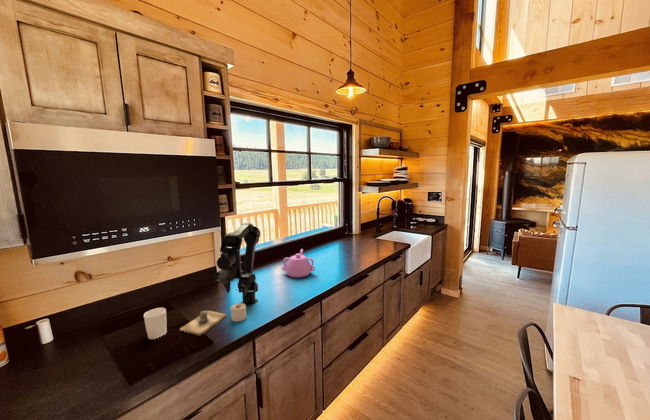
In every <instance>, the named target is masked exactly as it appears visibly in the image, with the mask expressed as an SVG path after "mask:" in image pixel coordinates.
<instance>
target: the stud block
mask: <svg viewBox="0 0 650 420" xmlns="http://www.w3.org/2000/svg"><path fill="white" fill-rule="evenodd" d="M226 317H227V314H226V313H221V312H217V311H214V310H213V311H212V310H202V311H200V312H199V316H197V317H196V318H194V319H193V320H191V321H189V322H188V323H186V324H185V325H183V326H181V327H180V328H179V331H180V332H182V331H184V332H183V333H186V332H187V334H190V333H191V335H194V334H195V336H198V335H199V337H200V336H202V335H203V334H205V333H206V332H207V331H209V330H210V329H211V328H213V327H214V326H215V325H217V324H218V323H219V322H221V321H222V320H224V318H226ZM201 334H202V335H201Z"/></svg>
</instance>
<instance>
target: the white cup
mask: <svg viewBox="0 0 650 420" xmlns="http://www.w3.org/2000/svg"><path fill="white" fill-rule="evenodd" d="M143 319H144V321H143V322H144V325H145V331H146V334H147V339H149V340H156V338H157V339H160V338H162V337H163V335H164V336H165V335H166V334H167V333H168V330H167V329H168V327H167V323H168V322H167V309H166V308H165V307H156V308H153V309H149V310H148V311H146V312H144V314H143ZM161 336H162V337H161ZM159 337H160V338H159Z"/></svg>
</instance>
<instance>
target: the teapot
mask: <svg viewBox="0 0 650 420" xmlns="http://www.w3.org/2000/svg"><path fill="white" fill-rule="evenodd" d="M286 260H288V261H287V263H286ZM310 261H311V262H310ZM282 263H283V266H282V269H281V270H282V271H285V273H286V274H287V275H288V276H289V277H291V278H304V277H307V276H309V275H310V274H311V272H314V271H316V268H315V267H314V259H313V258H312V257H308V258H307V256H306V255H304V249H303V248H301V249H300V250H299V253H295V255H291V256H290V257H284V259H283V260H282Z"/></svg>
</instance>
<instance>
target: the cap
mask: <svg viewBox="0 0 650 420" xmlns="http://www.w3.org/2000/svg"><path fill="white" fill-rule="evenodd" d="M230 312H231V313H230V314H231V321H233V322H236V323H237V322H242V321H244V320H245V319H246V318H247V305H245V304H243V303H241V302H240V303H235V304H233V305H231V307H230Z"/></svg>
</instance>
